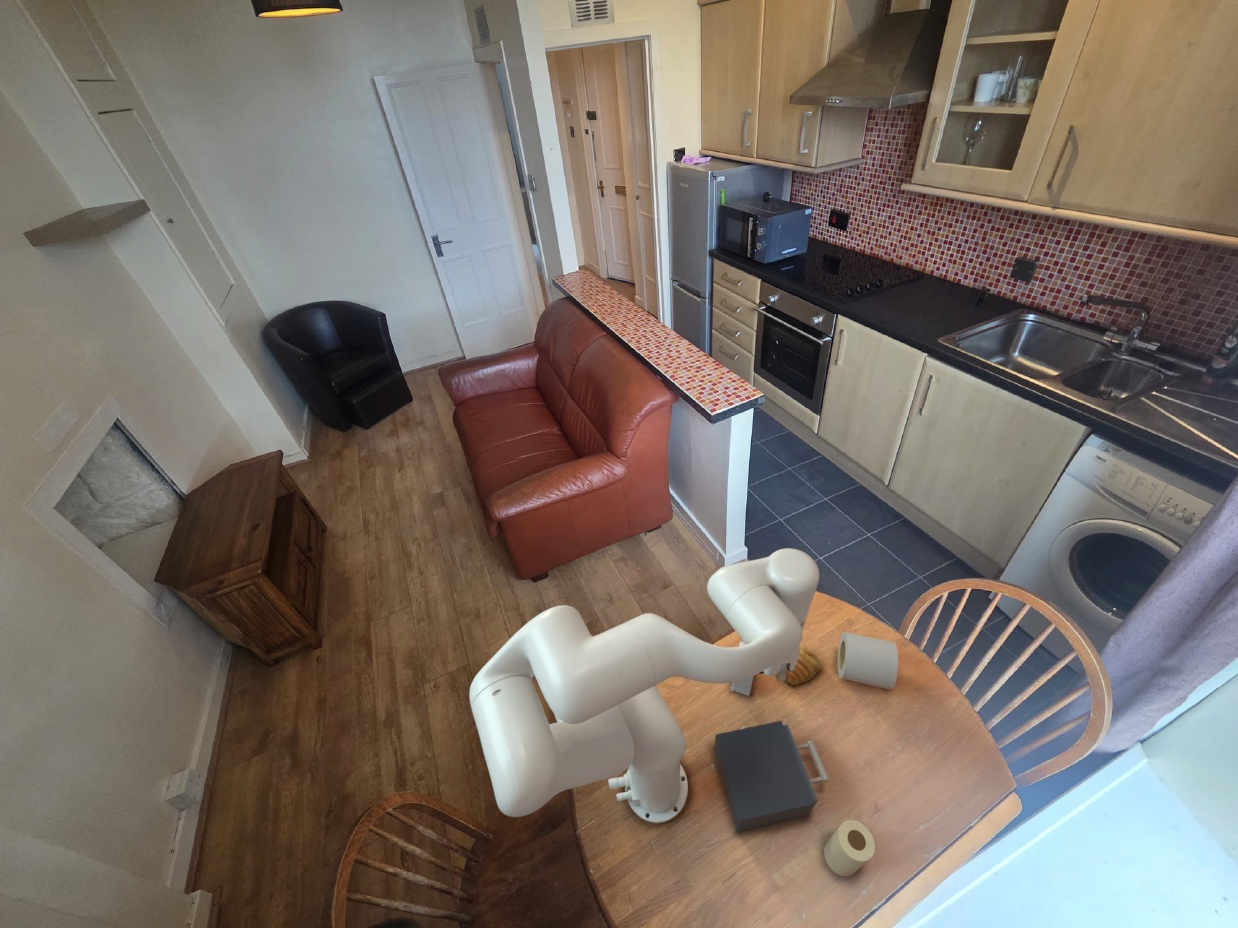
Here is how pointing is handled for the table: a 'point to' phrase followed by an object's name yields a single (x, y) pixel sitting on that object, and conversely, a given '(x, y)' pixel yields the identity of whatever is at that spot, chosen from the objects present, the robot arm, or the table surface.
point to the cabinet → (761, 776)
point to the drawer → (815, 757)
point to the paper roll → (849, 848)
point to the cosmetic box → (743, 683)
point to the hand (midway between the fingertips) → (765, 668)
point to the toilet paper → (867, 660)
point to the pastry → (804, 667)
